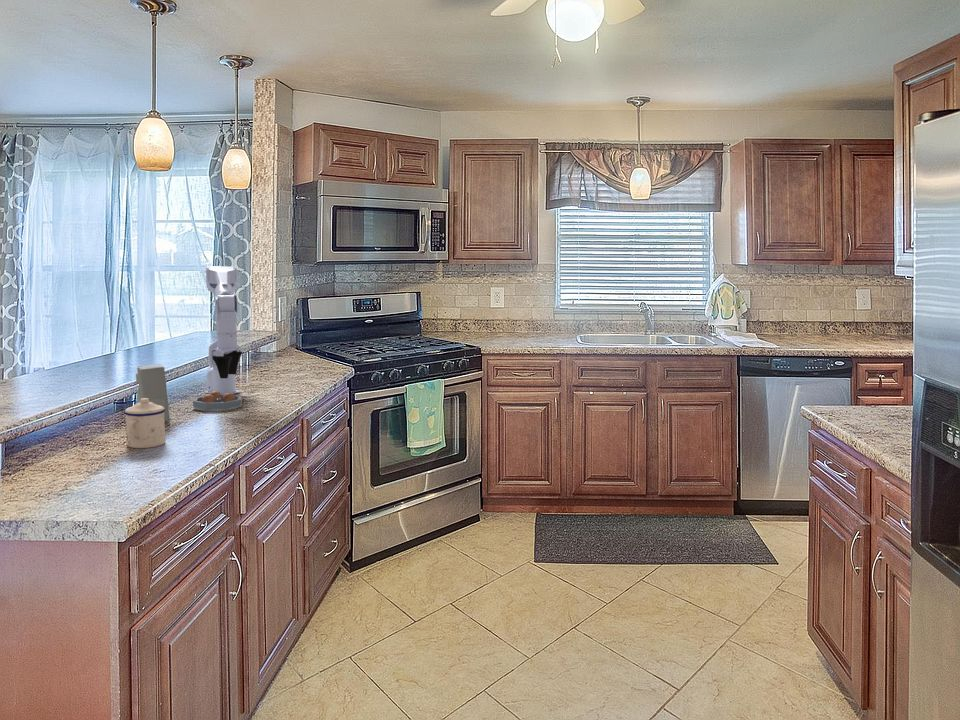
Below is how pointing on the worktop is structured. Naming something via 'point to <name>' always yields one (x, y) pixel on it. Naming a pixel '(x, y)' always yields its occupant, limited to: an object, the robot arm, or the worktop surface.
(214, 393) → the bead
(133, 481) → the worktop surface
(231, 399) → the bead
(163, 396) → the skincare box
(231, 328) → the robot arm
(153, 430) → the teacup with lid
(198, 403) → the groove tray
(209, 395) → the bead seated
